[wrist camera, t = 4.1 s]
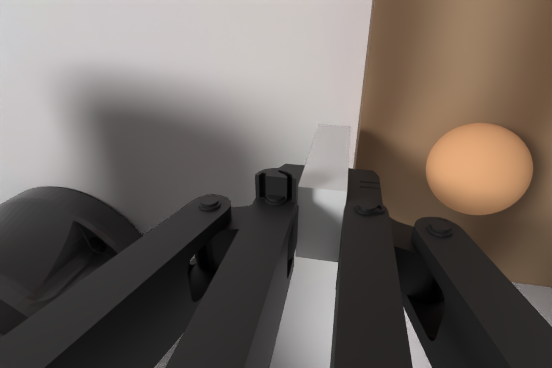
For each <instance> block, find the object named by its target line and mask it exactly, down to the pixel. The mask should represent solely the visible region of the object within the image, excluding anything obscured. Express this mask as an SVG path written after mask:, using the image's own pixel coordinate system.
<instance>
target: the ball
mask: <svg viewBox="0 0 552 368" xmlns="http://www.w3.org/2000/svg"><path fill="white" fill-rule="evenodd" d="M532 175H533V161H532V156H531V154H530V151H529V149H528V148H527V146H526V144H525V143H524V142H523V141H522V140H521V139H520V138H519V136H517V135H516V134H515V133H513V132H512V131H510V130H508V129H506V128H504V127H502V126H499V125H495V124H490V123H472V124H466V125H462V126H459V127H457V128H455V129H452V130H451V131H449V132H447V133H446V134H445V135H443V136H442V137H441V138H440V139H439V140H438V141H437V142H436V143H435V144H434V146H433V147H432V149H431V151H430V153H429V155H428V158H427V162H426V178H427V182H428V185H429V187H430V189H431V191H432V192H433V194H434V195H435V196H436V198H437V199H438V200H439V201H440V202H442V203H443V204H444V205H446V206H447V207H449V208H451V209H453V210H455V211H457V212H460V213H464V214H469V215H487V214H492V213H496V212H499V211H502V210H504V209H506V208H508V207H510V206H511V205H513V204H514V203H515V202H517V201H518V200H519V199H520V198H521V197H522V196H523V194H524V193H525V192H526V190H527V189H528V187H529V185H530V182H531V179H532Z"/></svg>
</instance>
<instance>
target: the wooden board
mask: <svg viewBox="0 0 552 368" xmlns="http://www.w3.org/2000/svg"><path fill="white" fill-rule="evenodd" d="M472 123H490V124H495V125H499V126H502V127H504V128H506V129H508V130H510V131H512V132H513V133H515V134H516V135H517V136H519V138H520V139H521V140H522V141H523V142H524V143H525V144H526V146H527V148H528V149H529V151H530V154H531V156H532V161H533V175H532V179H531V182H530V185H529V187H528V189H527V190H526V192H525V193H524V194H523V196H522V197H521V198H520V199H519V200H518V201H517V202H515V203H514V204H513V205H511V206H510V207H508V208H506V209H504V210H502V211H499V212H496V213H492V214H487V215H469V214H464V213H460V212H457V211H455V210H453V209H451V208H449V207H447V206H446V205H444V204H443V203H442V202H440V201H439V200H438V199H437V198H436V196H435V195H434V194H433V192H432V191H431V189H430V187H429V185H428V182H427V178H426V162H427V158H428V155H429V153H430V151H431V149H432V147H433V146H434V144H435V143H436V142H437V141H438V140H439V139H440V138H441V137H442V136H443V135H445V134H446V133H447V132H449V131H451V130H452V129H455V128H457V127H459V126H462V125H466V124H472ZM353 169H362V170H373V171H374V172H375V173H376V174H377V175H378V176H379V179H380V187H381V194H382V201H383V205H384V206H385V207H386V208H387V210H388V211H389V217H391V218H392V219H394V220H396V221H398V222H401V223H404V224H407V225H410V226H414V224H415V222H416V220H418V219H420V218H422V217H440V218H444V219H447V220H449V221H451V222H453V223H456V224H457V225H458V226H460V227H461V228H462V229H463V230H464V231H465V232H466V233H467V234H468V235H469V236H470V237H471V239H472V240H473V241H474V242H475V243H476V244H477V245H478V246H479V247H480V248H481V250H482V251H483V252H484V253H485V254H486V255H487V256H488V257H489V258H490V260H491V261H492V262H493V263H494V264H495V265H496V266H497V267H498V268H499V269H500V271H501V272H502V273H503V274H504V275H505V276H506V277H507V278H508V279H509V280H510V282H516V283H524V284H531V285H539V286H547V287H552V0H373V1H372V10H371V19H370V27H369V36H368V45H367V54H366V62H365V71H364V80H363V88H362V97H361V106H360V114H359V123H358V132H357V140H356V149H355V158H354V166H353Z"/></svg>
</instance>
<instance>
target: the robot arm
mask: <svg viewBox="0 0 552 368" xmlns="http://www.w3.org/2000/svg"><path fill="white" fill-rule="evenodd" d="M349 145H350V127H349V126H333V125H318V128H317V131H316V134H315V137H314V140H313V143H312V146H311V149H310V152H309V155H308V158H307V161H306V164H305V166H304V165H293V164H285V165H283V166H281V167H280V168H271V169H265V170H262V171H260V172H258V173H257V174H256V175H255V185H256V198H255V200H254V202H253V204H252V205H250V206H244V207H232V208H231V201H230V200H229V199H228V198H226V197H224V196H221V195H215V194H211V195H205V196H202V197H199V198H197V199H195V200H193V201H191V202H190V203H189V204H187V205H186V206H184V207H183V208H182V209H180V210H179V211H177V212H176V213H175V214H173V215H172V216H170V217H169V218H168V219H166V220H165V221H163V222H162V223H161V224H159V225H158V226H156V227H155V228H154V229H152V230H151V231H150V232H148V233H147V234H145V235H144V236H143V237H142V236H141V235H140V234H139V233H138V231H137V230H136V229H135V228H134V227H133V226H132V225H131V224H130V223H129V222H128V221H127V220H125V219H124V218H123V217H122V216H121V215H119V214H118V213H117V212H115V211H114V210H113V209H111V208H110V207H108V206H107V205H105V204H103V203H102V202H100V201H98V200H96V199H94V198H92V197H90V196H87V195H85V194H83V193H80V192H77V191H74V190H70V189H65V188H60V187H37V188H32V189H29V190H26V191H24V192H22V193H20V194H18V195H17V196H15V197H13V198H11V199H9V200H7V201H6V202H4V203H2V204H0V368H154V367H155V366H156V364H157V363H158V362H159V361H160V360H161V359H162V357H163V356H164V355H165V354H166V353H167V352H168V350H169V349H170V348H171V347H172V346H173V344H174V343H175V342H176V341H177V340H178V339H179V337H180V336H181V335H182V334H183V333H184V334H183V336H182V337H181V339H180V341H179V343H178V345H177V347H176V349H175V351H174V353H173V354H172V356H171V358H170V360H169V362H168V364H167V366H166V368H269V367H270V362H271V358H272V354H273V350H274V346H275V342H276V338H277V333H278V329H279V325H280V321H281V317H282V313H283V309H284V304H285V300H286V296H287V292H288V288H289V284H290V280H291V275H292V271H293V267H294V253H295V249H296V257H303V258H311V259H318V260H325V261H333V262H338V271H337V281H336V297H335V310H334V323H333V336H332V349H331V362H330V368H413V367H412V360H411V354H410V347H409V341H408V334H407V328H406V321H405V315H404V309H405V311H406V313H407V315H408V317H409V319H410V322H411V324H412V326H413V328H414V330H415V332H416V334H417V336H418V339H419V341H420V343H421V345H422V347H423V349H424V351H425V354H426V356H427V358H428V360H429V362H430V364H431V366H432V368H552V327H551V326H550V325H549V324H548V322H547V321H546V320H545V319H544V318H543V317H542V316H541V315H540V314H539V312H538V311H537V310H536V309H535V308H534V307H533V306H532V305H531V304H530V303H529V301H528V300H527V299H526V298H525V297H524V296H523V295H522V294H521V293H520V292H519V290H518V289H517V288H516V287H515V286H514V285H513V284H512V283H511V282H510V280H509V279H508V278H507V277H506V276H505V275H504V274H503V273H502V272H501V271H500V269H499V268H498V267H497V266H496V265H495V264H494V263H493V262H492V261H491V260H490V258H489V257H488V256H487V255H486V254H485V253H484V252H483V251H482V250H481V248H480V247H479V246H478V245H477V244H476V243H475V242H474V241H473V240H472V239H471V237H470V236H469V235H468V234H467V233H466V232H465V231H464V230H463V229H462V228H461V227H460V226H458V225H457V224H456V223H453V222H451V221H449V220H447V219H444V218H440V217H422V218H420V219H418V220H416V222H415V224H414V226H410V225H407V224H404V223H401V222H398V221H396V220H394V219H392V218H391V217H389V211H388V210H387V208H386V207H385V206H384V205H383V201H382V194H381V187H380V179H379V176H378V175H377V174H376V173H375V172H374V171H373V170H362V169H350V168H348V165H349ZM194 255H195V258H194V259H193V260H192V261H191V262H190V260H191V258H192V257H193V256H194ZM403 307H404V309H403Z"/></svg>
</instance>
